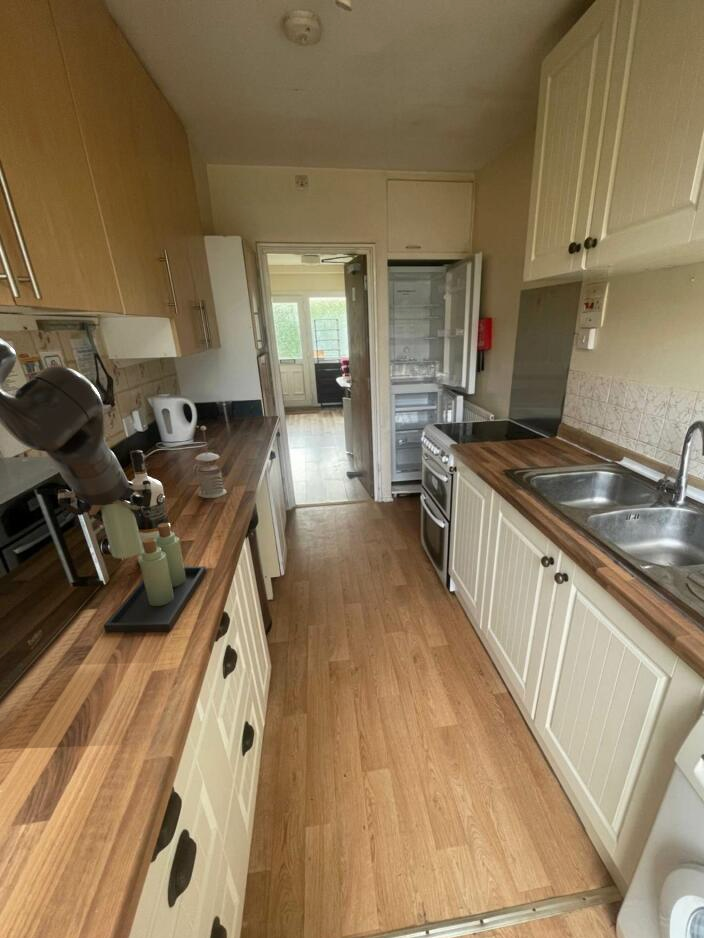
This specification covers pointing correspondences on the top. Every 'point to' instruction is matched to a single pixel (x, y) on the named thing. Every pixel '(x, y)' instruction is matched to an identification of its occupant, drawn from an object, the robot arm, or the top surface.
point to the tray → (154, 607)
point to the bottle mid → (155, 574)
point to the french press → (209, 475)
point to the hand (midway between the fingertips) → (120, 514)
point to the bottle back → (171, 553)
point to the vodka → (157, 506)
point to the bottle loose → (121, 530)
